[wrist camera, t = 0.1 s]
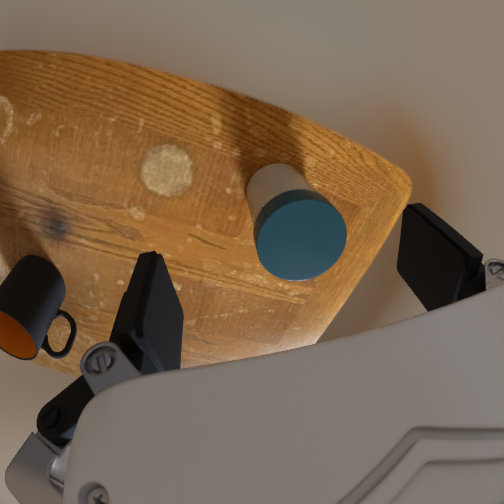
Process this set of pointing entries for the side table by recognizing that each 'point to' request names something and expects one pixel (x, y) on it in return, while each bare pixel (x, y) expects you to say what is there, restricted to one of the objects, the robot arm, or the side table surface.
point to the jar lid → (299, 235)
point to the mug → (32, 309)
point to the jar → (273, 185)
